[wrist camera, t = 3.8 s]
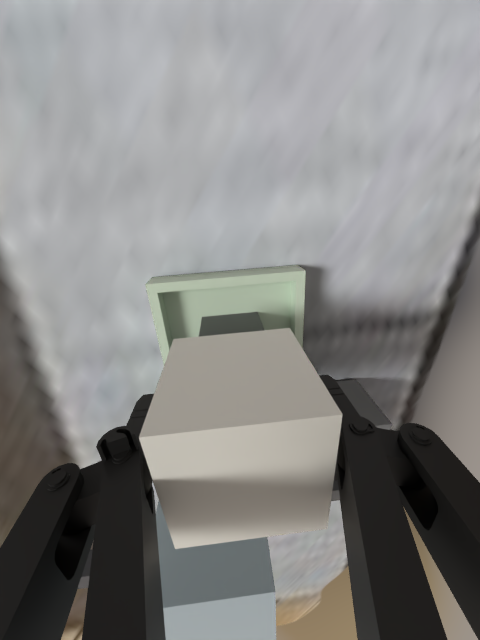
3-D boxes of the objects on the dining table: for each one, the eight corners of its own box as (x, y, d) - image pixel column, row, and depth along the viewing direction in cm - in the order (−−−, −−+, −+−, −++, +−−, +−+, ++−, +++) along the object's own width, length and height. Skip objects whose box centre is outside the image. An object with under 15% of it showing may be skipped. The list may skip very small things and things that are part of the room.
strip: (112, 405, 21) (-5, 620, 10) (355, 379, 22) (494, 549, 11) (135, 468, 24) (65, 683, 13) (345, 443, 25) (445, 624, 14)
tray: (152, 277, 17) (145, 284, 15) (297, 264, 17) (305, 270, 16) (177, 393, 21) (173, 409, 19) (294, 381, 21) (300, 395, 20)
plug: (185, 305, 17) (138, 437, 7) (271, 297, 17) (342, 414, 7) (197, 375, 20) (174, 549, 10) (272, 368, 20) (327, 528, 10)
